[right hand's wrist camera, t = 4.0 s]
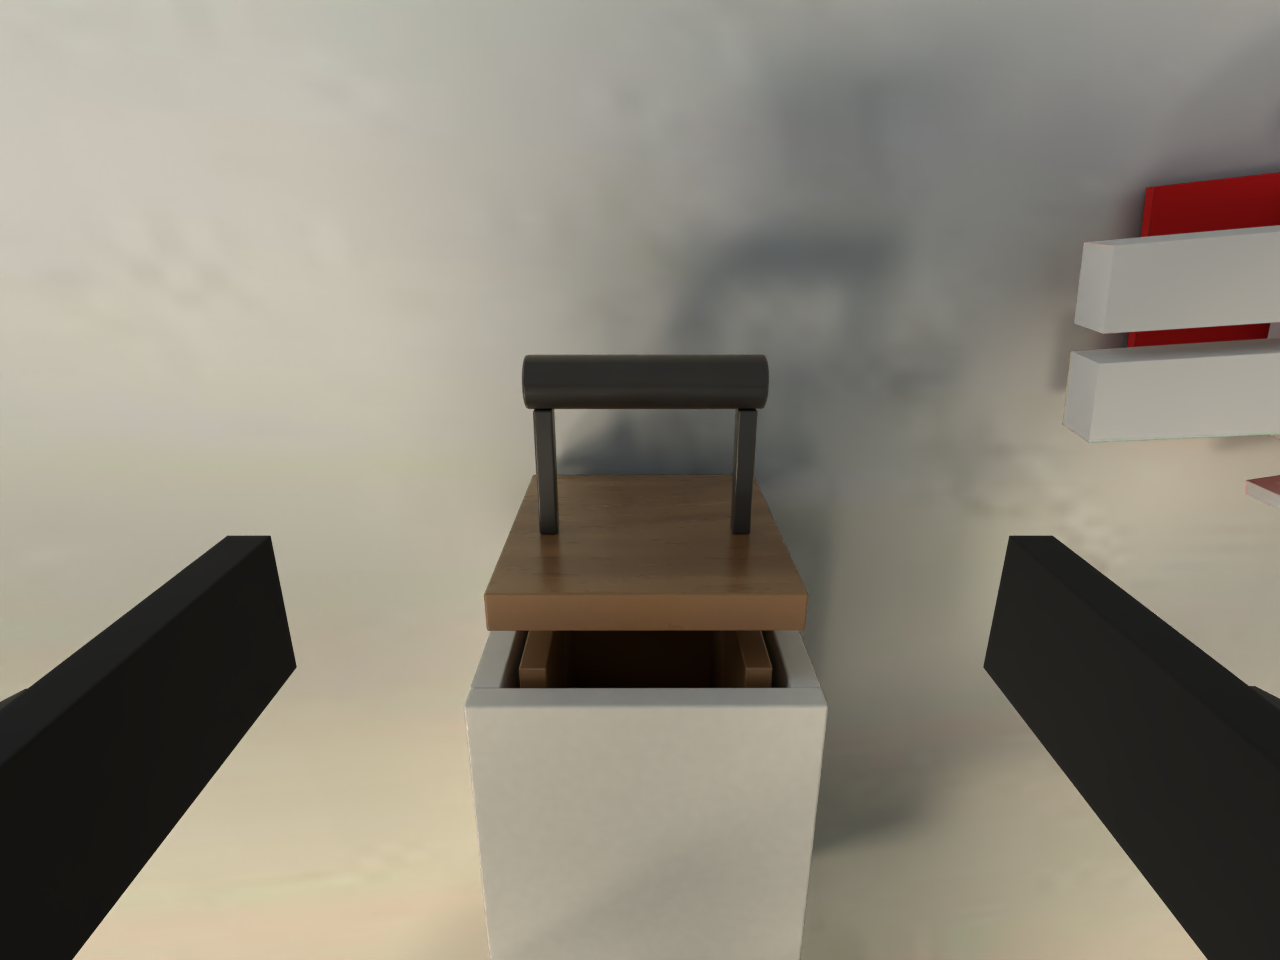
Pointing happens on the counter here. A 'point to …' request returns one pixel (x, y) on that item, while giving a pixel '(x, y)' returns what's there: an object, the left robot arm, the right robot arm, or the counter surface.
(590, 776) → the cabinet
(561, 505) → the drawer
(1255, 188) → the toy
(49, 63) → the counter surface
